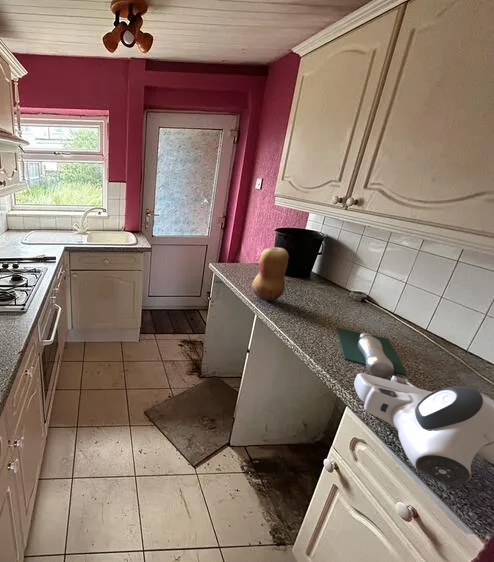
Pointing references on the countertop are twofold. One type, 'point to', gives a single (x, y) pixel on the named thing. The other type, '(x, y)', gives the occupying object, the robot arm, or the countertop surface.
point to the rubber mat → (355, 355)
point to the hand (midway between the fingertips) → (398, 379)
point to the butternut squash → (271, 274)
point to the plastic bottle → (375, 356)
